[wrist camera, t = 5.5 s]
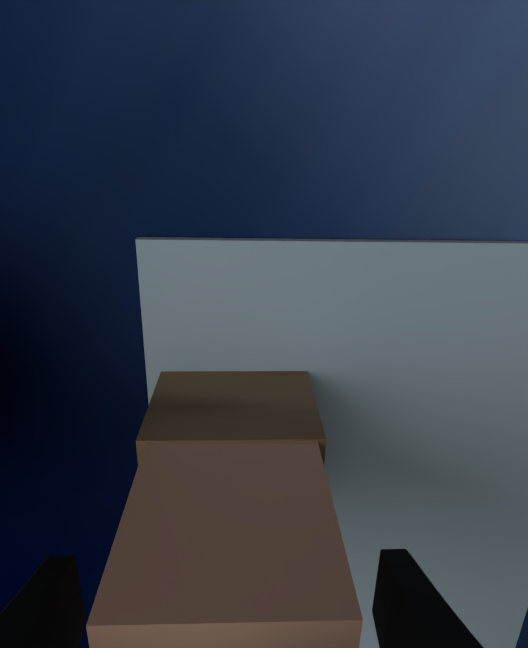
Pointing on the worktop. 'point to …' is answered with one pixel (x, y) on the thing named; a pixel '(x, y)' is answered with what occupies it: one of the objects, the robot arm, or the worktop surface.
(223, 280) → the mat
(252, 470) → the terracotta block
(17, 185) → the worktop surface
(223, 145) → the worktop surface
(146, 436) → the walnut block
